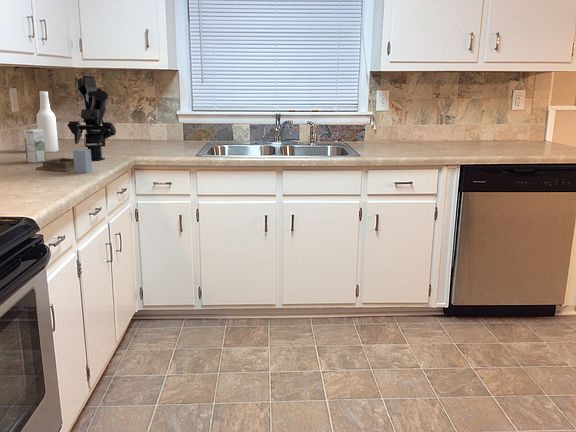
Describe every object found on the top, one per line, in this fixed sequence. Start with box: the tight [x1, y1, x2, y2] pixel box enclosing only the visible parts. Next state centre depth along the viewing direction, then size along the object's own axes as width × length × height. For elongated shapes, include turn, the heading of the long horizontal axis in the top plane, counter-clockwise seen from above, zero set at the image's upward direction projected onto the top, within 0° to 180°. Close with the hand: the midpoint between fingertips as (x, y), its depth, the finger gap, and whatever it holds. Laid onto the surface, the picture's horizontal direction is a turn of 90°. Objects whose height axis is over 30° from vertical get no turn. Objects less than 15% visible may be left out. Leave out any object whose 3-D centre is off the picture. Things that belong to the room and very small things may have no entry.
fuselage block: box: [72, 148, 93, 174], centre depth 208 cm, size 5×5×9 cm
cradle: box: [35, 157, 75, 173], centre depth 216 cm, size 15×15×3 cm
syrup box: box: [23, 128, 47, 164], centre depth 229 cm, size 6×6×14 cm
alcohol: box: [36, 91, 59, 153], centre depth 260 cm, size 9×9×30 cm
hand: (86, 144), depth 211 cm, fingers open, 9 cm apart
